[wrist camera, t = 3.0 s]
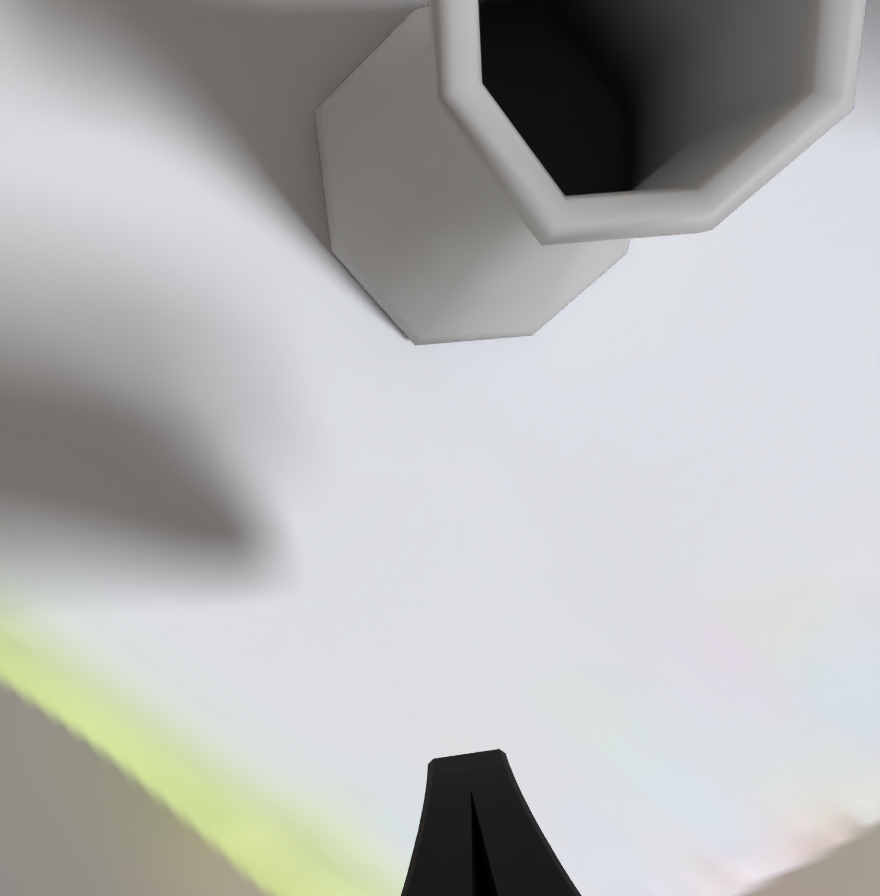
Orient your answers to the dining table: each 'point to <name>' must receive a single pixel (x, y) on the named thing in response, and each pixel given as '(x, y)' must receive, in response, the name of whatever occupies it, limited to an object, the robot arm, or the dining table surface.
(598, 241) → the flask
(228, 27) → the dining table surface
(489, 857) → the robot arm
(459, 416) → the dining table surface
